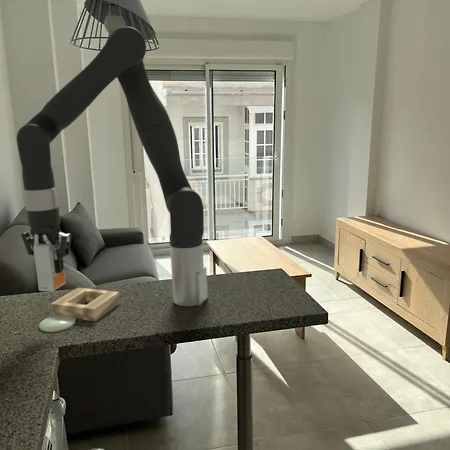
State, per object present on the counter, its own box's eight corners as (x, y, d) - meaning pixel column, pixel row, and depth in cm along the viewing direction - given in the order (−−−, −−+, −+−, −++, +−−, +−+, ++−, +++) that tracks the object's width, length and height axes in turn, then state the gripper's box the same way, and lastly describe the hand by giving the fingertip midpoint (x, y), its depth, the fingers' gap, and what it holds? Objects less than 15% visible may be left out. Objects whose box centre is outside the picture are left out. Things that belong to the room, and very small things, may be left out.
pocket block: (120, 303, 128) (118, 292, 127) (95, 321, 117) (94, 309, 116) (79, 298, 132) (78, 287, 132) (52, 315, 121) (50, 303, 121)
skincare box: (53, 292, 110) (47, 246, 107) (38, 291, 111) (32, 246, 108) (67, 283, 116) (61, 239, 113) (52, 282, 117) (46, 239, 114)
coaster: (82, 318, 119) (82, 316, 119) (60, 334, 111) (60, 331, 110) (55, 314, 122) (55, 312, 122) (31, 329, 113) (31, 327, 113)
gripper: (76, 204, 110) (83, 269, 114) (30, 202, 114) (38, 264, 118) (55, 210, 103) (64, 279, 107) (7, 208, 107) (17, 274, 111)
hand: (50, 271), depth 113 cm, fingers closed on skincare box, 4 cm apart
